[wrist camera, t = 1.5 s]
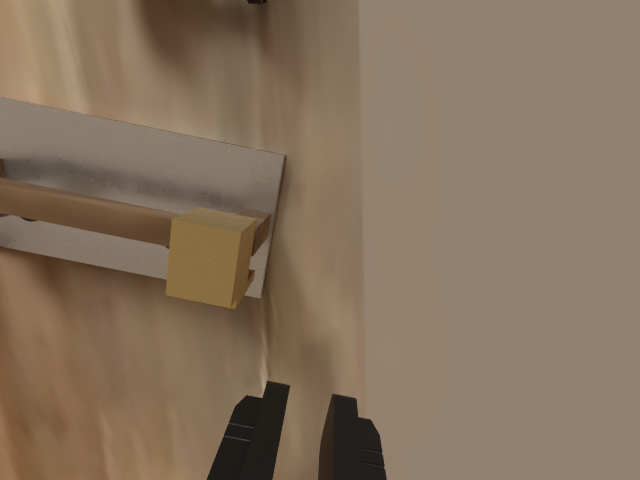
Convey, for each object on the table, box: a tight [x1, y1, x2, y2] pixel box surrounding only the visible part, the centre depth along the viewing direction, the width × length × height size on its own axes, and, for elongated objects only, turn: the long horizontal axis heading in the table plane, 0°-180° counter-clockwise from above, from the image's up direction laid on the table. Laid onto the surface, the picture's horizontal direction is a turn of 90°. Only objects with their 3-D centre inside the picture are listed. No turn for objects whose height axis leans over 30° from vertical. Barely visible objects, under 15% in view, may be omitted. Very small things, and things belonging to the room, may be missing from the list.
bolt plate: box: [0, 97, 286, 298], centre depth 32 cm, size 14×28×1 cm, turn 79°
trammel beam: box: [0, 158, 271, 257], centre depth 28 cm, size 5×27×8 cm, turn 79°
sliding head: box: [165, 207, 257, 309], centre depth 26 cm, size 6×4×12 cm
